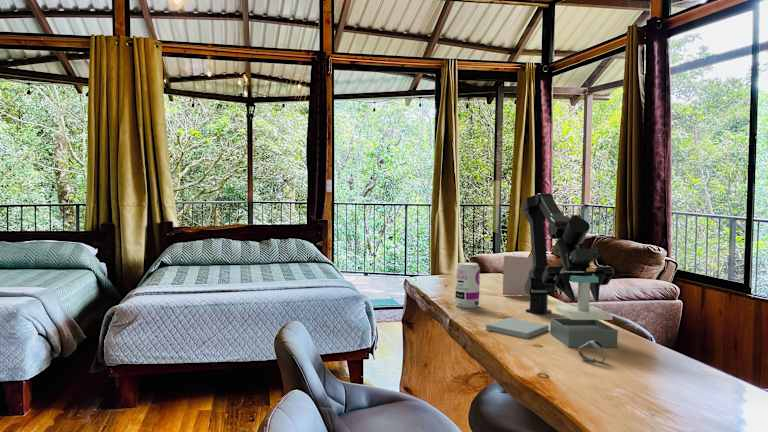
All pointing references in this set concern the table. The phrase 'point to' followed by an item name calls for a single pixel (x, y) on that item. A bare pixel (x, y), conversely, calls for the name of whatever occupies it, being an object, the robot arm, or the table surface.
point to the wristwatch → (597, 346)
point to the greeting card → (516, 274)
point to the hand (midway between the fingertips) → (585, 300)
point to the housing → (583, 332)
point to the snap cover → (584, 302)
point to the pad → (517, 327)
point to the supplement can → (467, 285)
